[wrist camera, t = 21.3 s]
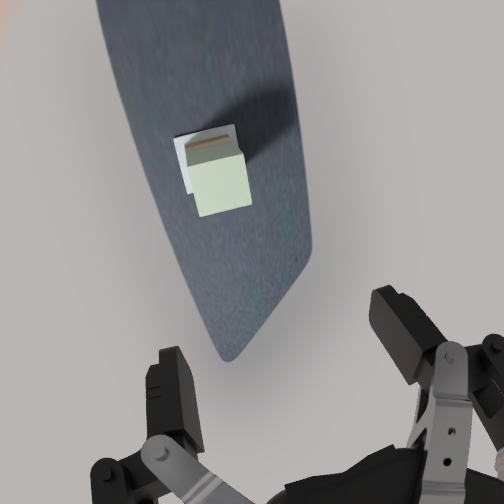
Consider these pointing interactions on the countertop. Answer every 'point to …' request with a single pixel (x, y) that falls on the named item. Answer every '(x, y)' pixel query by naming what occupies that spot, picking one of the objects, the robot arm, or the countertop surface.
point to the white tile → (199, 136)
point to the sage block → (218, 178)
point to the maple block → (207, 143)
